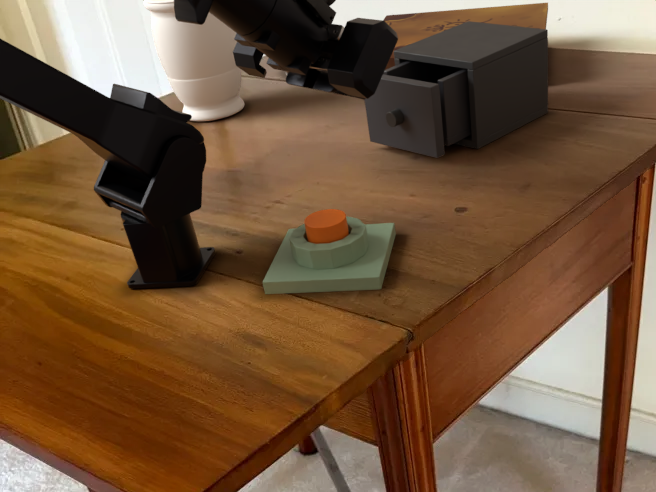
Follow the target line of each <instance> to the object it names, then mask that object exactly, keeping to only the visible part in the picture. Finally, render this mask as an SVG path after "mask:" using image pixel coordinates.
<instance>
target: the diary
mask: <svg viewBox="0 0 656 492" xmlns="http://www.w3.org/2000/svg"><path fill="white" fill-rule="evenodd" d="M548 15H549V2H539V3H537V2H536V3H525V4H524V3H523V4H512V5H501V6H488V7H487V6H486V7H475V8H464V9H463V8H462V9H452V10H451V9H450V10H437V11H425V12H411V13H400V14H388V15H386V16H385V17H384V18H383V21H385V22H386V23H387V24H388V25H389V26H390V27H391V28H392V29H393V30H394V31H395V32H396V33H397V36H398V41H397V43H396V46H395V48H394V50H393V52H392V55H391V57H390V59H389V62H388V64H387V66H386V69H389V68H391V67H393V66H395V60H394V59H395V58H394V51H395V50H397V49H400V48H402V47H405V46H407V45H410V44H412V43H415V42H417V41H420V40H422V39H425V38H427V37H430V36H432V35H435V34H437V33H440V32H442V31H445V30H447V29H450V28H452V27H455V26H458V25H460V24H463V23H465V22H468V21H471V22H480V23H490V24H499V25H509V26H518V27H528V28H537V29H547V22H548ZM386 69H385V70H386Z"/></svg>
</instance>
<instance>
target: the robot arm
mask: <svg viewBox="0 0 656 492" xmlns="http://www.w3.org/2000/svg"><path fill="white" fill-rule="evenodd" d="M336 1H337V0H174V11H175V18H176V20H177V21H179V22H185V23H192V24H199V25H202V24H204V22H205V20H206V18H207V15H208V13H211V14H212V15H213V16H215V17H216V18H217V19H219V20H220V21H221V22H223V23H224V24H225V25H227V26H228V27H229V28H230V29H232V30H233V31H234V32H236V35H235V38H234V40H236V41H237V43H236V46H235V48H234V50H233V55H234V59H235V64H236V66H237V67H239V68H240V69H241V71H243V73H246V74H247V75H248V76H252V77H256V78H261V79H266V76H267V73H268V72H267V69H266V68H265V67H264V66H262V65H261V62H262V59H263V56H266V57H267V61H266V65H267V66H269V67H270V68H272V69H273V70H276V71H282V72H285V71H286V72H287V73H288V74H287V75H286V76H285V82H286V84H287V85H290V86H296V87H300V88H305V89H310V90H315V91H319V92H325V93H330V94H335V95H339V96H344V97H345V96H346V97H351V98H354V99H355V98H356V99H361V100H364V99H368V98H369V97H371V96H372V95H374V94H375V92H376V89H377V87H378V85H379V82H380V80H381V78H382V75H383V73H384V71H385V69H386V66H387V64H388V62H389V59H390V57H391V55H392V52H393V50H394V48H395V46H396V43H397V41H398V36H397V33H396V32H395V31H394V30H393V29H392V28H391V27H390V26H389V25H388V24H387V23H386V22H385V21H383V20H384V19H383V20H382V19H373V18H365V17H364V18H363V17H356V18H353V19H350V20H348V21H346V23H345V26H343V25H342V24H337V23H333V22H334V20H335V17H336V14H337V12H336V10H334V9H333V8H332V7H331V6H332V5H333V4H334V3H335V2H336ZM0 100H2V101H5V102H6V103H9V104H11V105H13V106H15V107H17V108H18V109H21V110H23V111H25V112H27V113H29V114H31V115H33V116H36V117H37V118H39V119H40V120H41V119H42V120H43V121H45V122H48V123H50V124H52V125H54V126H56V127H58V128H60V129H62V130H64V131H66V132H69V133H71V134H73V135H74V137H77V139H79V140H80V141H82V142H83V143H84V145H86V146H87V147H88V148H89V149H90V150H91V151H92V152H94V153H95V154H96V155H98V156H99V157H100V158H102V159H103V160H104V162H103V164H102V166H101V169H100V171H99V174H98V177H97V178H96V181H95V183H94V186H93V191H94V193H95V194H96V195H97V196H98V197H99V199H100V200H101V201H102V202H103V204H104V205H105V206H106V207H108V208H113V209H115V210H117V211H119V212H120V218H121V221H122V226H123V228H124V231H125V235H126V237H127V241H128V243H129V246H130V249H131V252H132V255H133V258H134V261H135V263H136V266H137V268H136V270H135V271H134V272H133V273H132V275H131V276H130V277H129V279H128V280H127V282H126V286H127V287H128V288H129V289H147V288H148V289H151V288H152V289H153V288H154V289H155V288H174V287H175V288H176V287H192V286H196V285H197V284H198V282H199V281H200V279H201V278H202V276H203V275H204V273H205V271H206V270H207V269H208V266H209V264H210V263H211V261H212V260H213V258H214V257H215V255H216V253H217V251H216V248H215V247H214V246H206V247H205V246H204V247H201V246H200V243H199V240H198V236H197V234H196V229H195V226H194V224H193V220H192V217H191V213H193V212H196V211H199V210H200V209H202V205H203V203H202V202H203V200H202V198H203V176H204V174H203V173H204V172H205V167H206V163H207V147H206V145H205V138H204V136H203V134H202V133H201V131H200V130H199V129H198V128H196V127H195V126H193V124H190V123H188V122H189V121H190V119H191V118H192V116H191V115H190V114H186V113H183V112H182V111H180V110H179V111H178V110H175V109H173V108H170V107H169V106H168V105H167V104H166V103H165V102H163V100H161V99H160V98H158V97H157V96H156V95H154V94H153V93H151V92H149V91H144V90H141V89H137V88H133V87H129V86H125V85H121V84H118V83H112V86H111V92H110V96H107V95H105V94H103V93H101V92H99V91H97V90H96V89H94V88H92V87H90V86H89V85H87V84H85V83H83V82H81V81H79V80H77V79H75V78H74V77H72V76H70V75H68V74H66V73H65V72H63V71H61V70H59V69H57V68H56V67H54V66H51V65H50V64H48V63H46V62H44V61H42V60H41V59H39V58H37V57H35V56H34V55H32V54H30V53H28V52H26V51H24V50H22V49H20V48H19V47H17V46H15V45H13V44H11V43H10V42H8V41H6V40H4V39H2V38H0Z"/></svg>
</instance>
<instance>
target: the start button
mask: <svg viewBox="0 0 656 492" xmlns="http://www.w3.org/2000/svg"><path fill="white" fill-rule="evenodd" d="M346 216H347V214H346V213H345V211H344V210H341V209H336V208H328V209H327V208H326V209H321V210H317V211H314V212H312V213H310V214H308V215H307V216H306V217H305V218H304V222H303V224H305V229H306V234H307V239H308V242H311V243H315V244H323V243H332V242H335V241H338V240H342V239H343V238H345V237H346V236H348V235H349V230H348V224H347V218H346Z"/></svg>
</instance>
